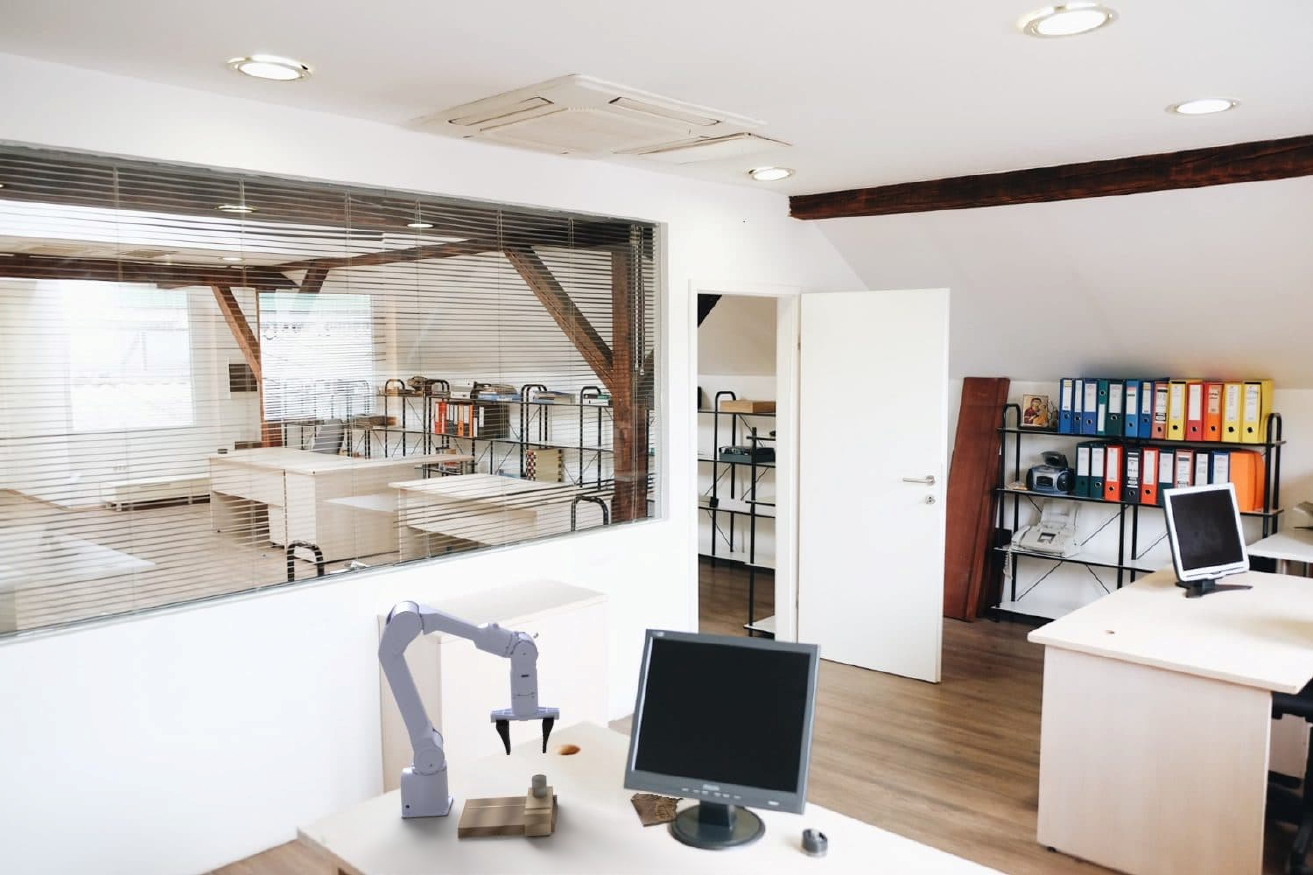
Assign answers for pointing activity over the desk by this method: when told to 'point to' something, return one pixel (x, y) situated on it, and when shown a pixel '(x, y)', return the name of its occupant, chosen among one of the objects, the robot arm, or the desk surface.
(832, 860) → the desk surface
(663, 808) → the wooden fragment
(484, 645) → the robot arm
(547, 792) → the beige block with knob
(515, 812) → the board
